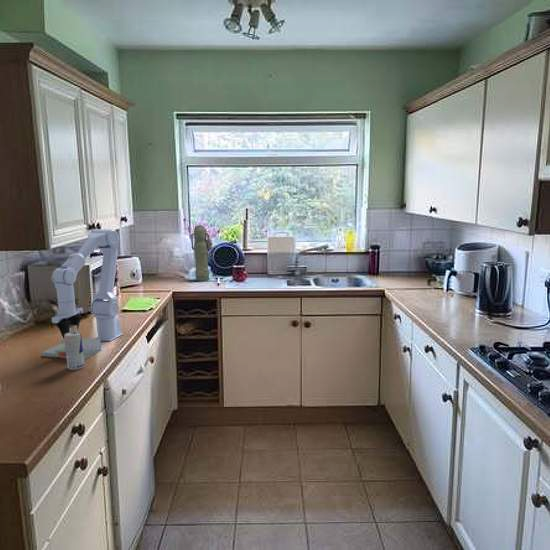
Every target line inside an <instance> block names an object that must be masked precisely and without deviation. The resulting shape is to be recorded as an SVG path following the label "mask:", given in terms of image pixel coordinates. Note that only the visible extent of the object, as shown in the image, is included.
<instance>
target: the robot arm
mask: <svg viewBox="0 0 550 550" xmlns="http://www.w3.org/2000/svg"><path fill="white" fill-rule="evenodd" d="M119 242H120V234H118V231H116V230H115V229H114V228H110V229H108V228H107V229H105V228H104V229H103V228H102V229H100V228H99V229H97V228H93V229H92V230H91V231H90V232H89V233H88V234H87V239H86V241H85V242H84V243H83V245H82V246H81V247H80V249H79V250H78V251H77V253H76V252H75V253H72V254H71V253H70V254H69V256H68V258H67V259H66V260H65V261H64V263H62V264H61V266H60V267H57V268H55V269H54V270H53V272H52V275H51V277H50V280H51V281H52V283H54V288H55V289H56V297H57V303H58V305H57V306H58V312H57V313H56V314H55V316H52V317H51V323H52V324H54V325H56V327H57V328H58V330H59V332H60V335H61V334H62V336H63V339H64V336H65V334H66V333H68V332H69V327H70V325H77V332H79V327H80V323H81V321H82V318H83V316H82V314H83V313H84V308H83V307H77V306H76V298H75V297H76V295H75V290H74V289H75V288H74V287H75V286H74V283H75V282H76V280H77V276H78V273H79V271H81V269H82V268H83V267H84V266H85V265H86V259H87V258H88V257H89V256H90V254H91V253H92V252H94V250H95V249H96V248H97V249H98V250H100V251H101V253H102V254H103V255H102V261H101V262H102V264H101V270H100V272H101V273H100V281H99V289H98V292H97V293H96V294H95V295H94V296H93V299H92V302H91V304H90V312H91V314H92V315H93V316H94V318H95V321H96V323H95V324H96V333H97V336H96V337H94V338H93V339H100V341H102V342H103V341H104V342H111V341H113V340H115V339H118V337H121V336H123V335H124V333H123V332H122V327H121V318H120V317H119V315H118V312H119V308H120V307H119V298H118V297H117V296H116V295H115V294H114V287H115V279H116V271H117V261H118V254H119V253H118V251H119ZM76 307H77V308H76Z"/></svg>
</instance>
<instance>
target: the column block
mask: <svg viewBox="0 0 550 550" xmlns="http://www.w3.org/2000/svg"><path fill="white" fill-rule="evenodd" d="M75 331H77V325H70V327H69V332H75ZM60 337H61V344H65V341H64V339H63V336H62V334H61V333H60Z"/></svg>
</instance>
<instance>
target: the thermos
mask: <svg viewBox="0 0 550 550" xmlns="http://www.w3.org/2000/svg"><path fill="white" fill-rule="evenodd" d="M210 235H211V234H209V232H207V230H206V226H204V225H195V226H194V229H193V233H191V235H190V240H191V241H190V242H191V249H192V250H193V253H194V258H195V270H194V271H195V273H194V274H195V281H197V282H207V281H209V280H210V269H209V258H208V257H209V256H208V254H209V250H210V248H211V242H210V241H211V239H210Z"/></svg>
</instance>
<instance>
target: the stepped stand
mask: <svg viewBox="0 0 550 550" xmlns="http://www.w3.org/2000/svg"><path fill="white" fill-rule="evenodd" d="M82 347H83V357H84V361H85V360H87V359H88V357H89V358H90V357H92V356H94V355H96V354H98V353H99V351H100V352H102V344H101V340H100V339H94V338H91V337H88V338H87V337H86V338H84V339H82ZM45 356H46V357H47V358H57V357H60V358H59V359H66V350H65V344H62V343H59V344H57V345H55V346H53V347H50V348H48V349H46V350H44V351H42V352H41V357H45ZM46 357H45V358H46Z"/></svg>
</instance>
